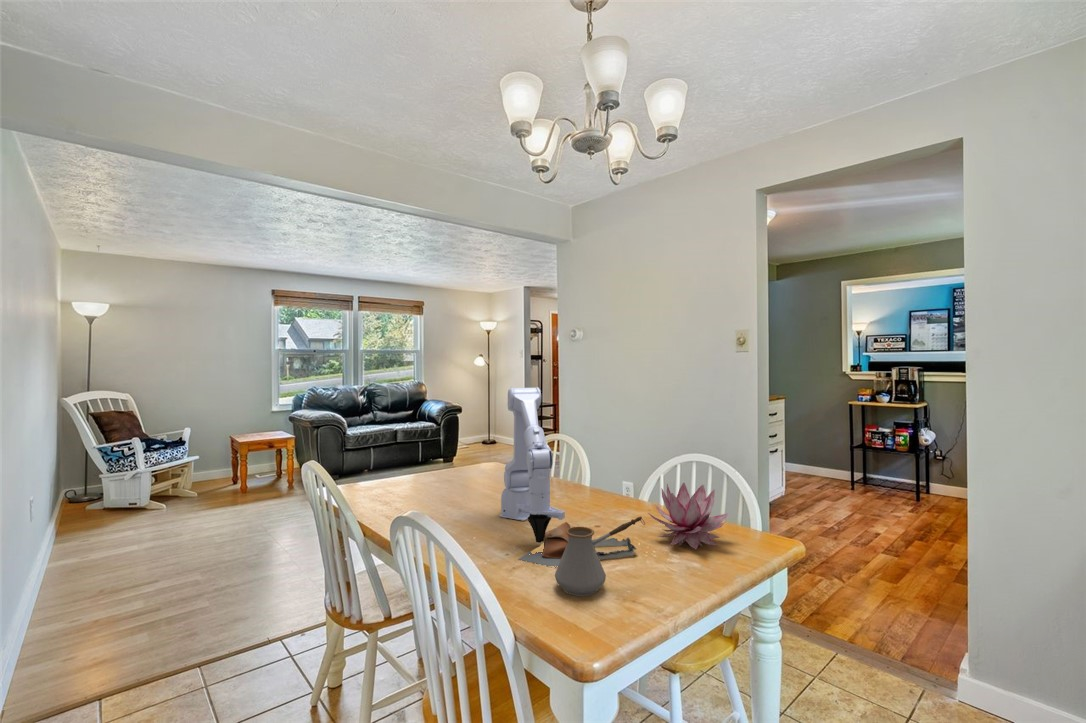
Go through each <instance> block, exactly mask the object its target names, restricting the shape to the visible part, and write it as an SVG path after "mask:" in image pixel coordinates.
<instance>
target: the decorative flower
mask: <svg viewBox="0 0 1086 723" xmlns="http://www.w3.org/2000/svg"><path fill="white" fill-rule="evenodd" d="M665 492H666V493H665ZM715 492H716V491H715V489H713V490H711V492H710V493H709V494H708V495H707V494H706V493H707V492H706V488H705V484H702V485H700V486H699V488H697V490H695V492H694V493H693V494H692V495H691V497H690V494H689V491H688V488H687V485H686V483H685V482H682V484H681V485H680V487H679V490H678V493H677V495H676V496H675V494H674V493H673V492H672V493H671V490H670V488H669V485H668V483H666V491H665V490H664V489H663V488H661V498H662V500H663V503H664V506H665V509H666V510H667V512H668V514H667V513H666V512H665V511H663V509H661V508H659V506H657V505H656V504H654V507H655V508H656V510H657V512H658V513H659V514H660V515H661V516H662V518H664V519H665V520H667V521H668V522H666V521H664V520H661V519H659V518H658V517H655V516H654V515H652V514H651V513H650V512H647V514H648V515H649V516H650V517H651V518H652V519H653V520H655V521H657V522H659V523H660V524H662V525H664V527H666V528H667V529H661V530H662V531H664V532H666V534H662V535H659V536H657V538H667V537H671V536H674V537H673V539H672V541H671V542H670V543H669V545H670V546H671V545H673V546H674V545H676V544H678V546H681V545H682V544H683V543H684V542H686V543H687V544H688V545H689V547H690V548H693V549H695V550H697V549H698V547H699V546H701V547H702V546H703V545H702V543H704V544H706V545H710V546H714V547H716V546H718V545H717V543H716V542H714V540H712V539H721V538H720V537H719V536H717V535H715V534H712V533H710V532H712V531H713V532H714V531H715V530H718V529H719V528H721V527H723V526H724V525H725V524H726V522H723V521H724V520H725V519H727V518H728V516H729V513H728V512H727V513H722V514H719V515H714V516H710V515H711V514H712V513H711V512H712V510H713V507H714V503H715ZM667 532H669V533H667Z"/></svg>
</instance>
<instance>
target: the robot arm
mask: <svg viewBox="0 0 1086 723" xmlns="http://www.w3.org/2000/svg"><path fill="white" fill-rule="evenodd" d="M541 392H542V390H541V389H540V387H539V386H536V387H510V388H509V389H508V391H507V409H508V411H510V412H512V413H513V459H512V460H510V461H509V462H507V463H506V464H505V467H504V474H503V484H504V487H505V488H504V489H503V490H502V492H501V496H500V497H501V498H500V499H501V500H500V505H501V508H500V510H501V512H500V515H499V517H501V518H507V519H512V520H518V521H526V520H527V521H528V523H529V524H530V527H531V529H532V531H533V534H534V537H535V538H534V539H535V543H538V544H542V543H543V542H544V536H545V533H546V532H547V529H548V527H549V524H550V521H551V520H552V518H553V519H558V521H562V520H564V519H565V516H566V515H565V514H566V513H565V512H566V511H565V510H562V509H557V508H554V507H552V506H551V474H550V473H551V470H550V469H552V468H553V465H554V464H553V462H554V461H553V453H552V449H551V447H550V446H549V444H547V440H546V436H545V432H544V429H543V427H541V426H540V425H539V419H538V418H539V417H538V411H537V410H539V409H540V405H541V404H542V393H541Z"/></svg>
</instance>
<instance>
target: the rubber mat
mask: <svg viewBox="0 0 1086 723" xmlns="http://www.w3.org/2000/svg"><path fill="white" fill-rule="evenodd" d="M541 553H543V552H538V553H537V552H536V553H535V554H532V553H531V552H530V551H528V552H527V553H526V554H525V553H524V555H522V556H520V557H519V558H517V559H518V561H521V560H522V562H526V561H527V562H526V563H530V562H532V563H531V564H535V563H536V565H539V564H541V565H540V566H543V565H546V566H545V567H548V566H554V567H555V566H556V567H557V566H558V565H559V563H560V560H561V559H554V558H547V557H544V556H542V554H541ZM529 554H530V555H529ZM556 567H555V568H554V569H557V568H558V567H557V568H556Z"/></svg>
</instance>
